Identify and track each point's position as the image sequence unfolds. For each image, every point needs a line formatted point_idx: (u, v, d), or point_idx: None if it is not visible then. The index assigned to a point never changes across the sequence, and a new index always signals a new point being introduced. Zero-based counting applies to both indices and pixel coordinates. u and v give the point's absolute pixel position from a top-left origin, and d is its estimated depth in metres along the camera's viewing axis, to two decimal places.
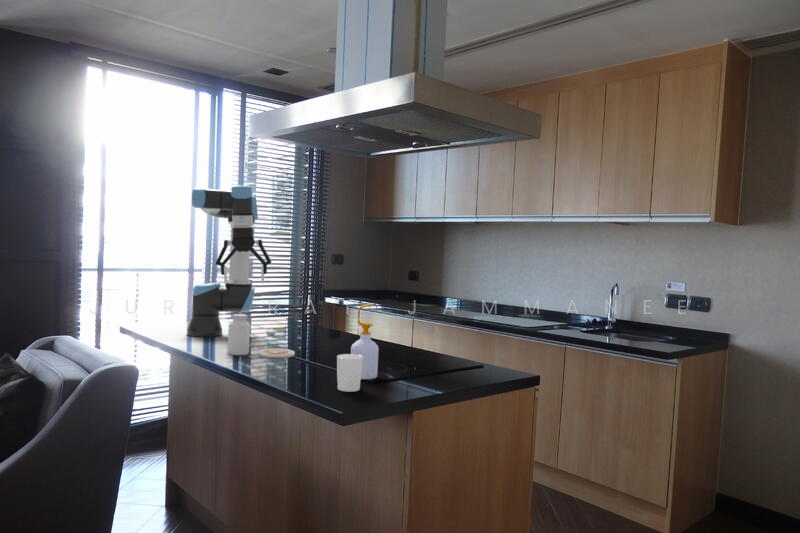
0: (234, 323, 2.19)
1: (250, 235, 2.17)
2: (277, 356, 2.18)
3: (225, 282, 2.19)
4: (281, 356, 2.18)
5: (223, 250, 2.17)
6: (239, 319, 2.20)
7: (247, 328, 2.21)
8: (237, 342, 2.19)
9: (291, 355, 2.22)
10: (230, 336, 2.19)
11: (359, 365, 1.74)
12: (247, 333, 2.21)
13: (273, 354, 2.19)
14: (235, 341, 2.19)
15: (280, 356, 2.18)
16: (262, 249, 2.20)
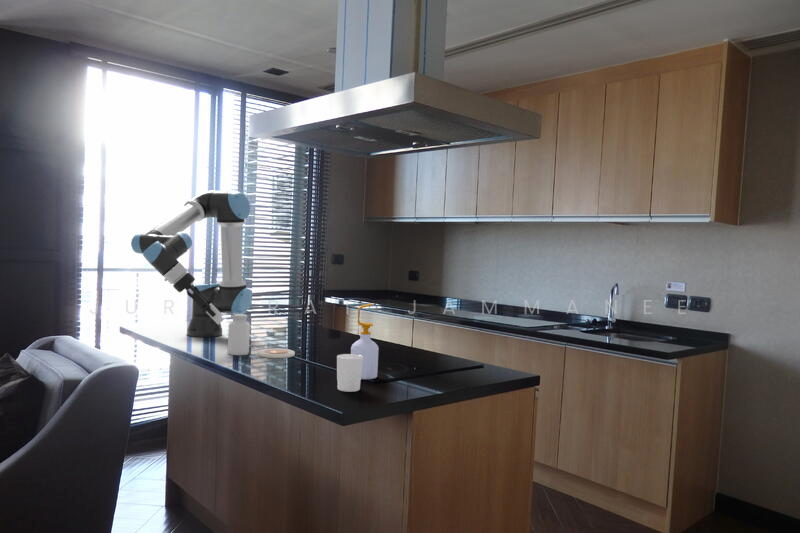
0: (234, 323, 2.19)
1: (180, 289, 2.12)
2: (277, 356, 2.18)
3: None
4: (281, 356, 2.18)
5: None
6: (239, 319, 2.20)
7: (247, 328, 2.21)
8: (237, 342, 2.19)
9: (291, 355, 2.22)
10: (230, 336, 2.19)
11: (359, 365, 1.74)
12: (247, 333, 2.21)
13: (273, 354, 2.19)
14: (235, 341, 2.19)
15: (280, 356, 2.18)
16: (193, 299, 2.09)
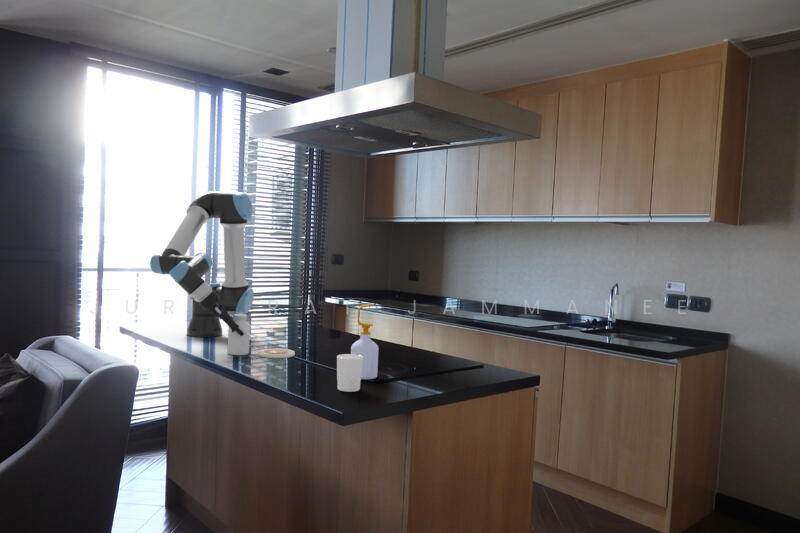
0: None
1: (206, 307, 2.15)
2: (277, 356, 2.18)
3: None
4: (281, 356, 2.18)
5: None
6: (239, 319, 2.20)
7: (247, 328, 2.21)
8: (237, 342, 2.19)
9: (291, 355, 2.22)
10: (230, 336, 2.19)
11: (359, 365, 1.74)
12: (247, 333, 2.21)
13: (273, 354, 2.19)
14: (235, 341, 2.19)
15: (280, 356, 2.18)
16: (221, 318, 2.14)
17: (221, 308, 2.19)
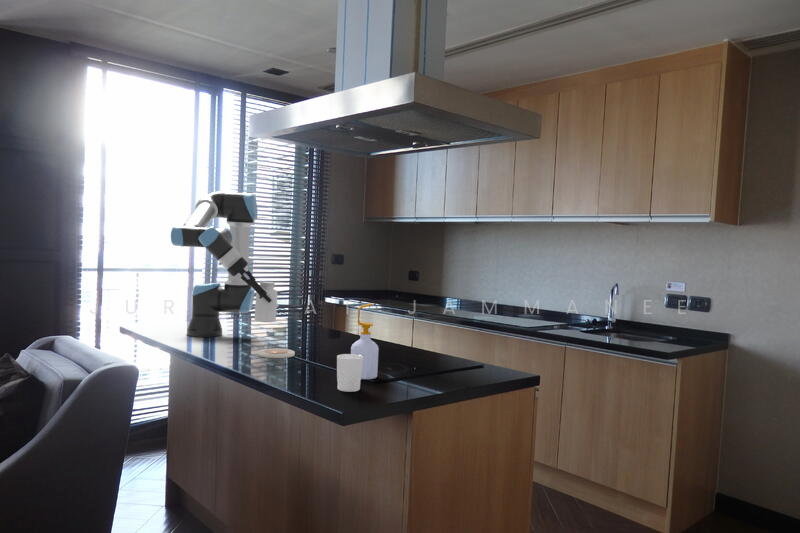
0: None
1: (234, 273, 2.15)
2: (277, 356, 2.18)
3: None
4: (281, 356, 2.18)
5: None
6: (267, 286, 2.19)
7: (274, 295, 2.20)
8: (264, 309, 2.18)
9: (291, 355, 2.22)
10: (257, 303, 2.19)
11: (359, 365, 1.74)
12: (275, 300, 2.20)
13: (273, 354, 2.19)
14: (263, 308, 2.18)
15: (280, 356, 2.18)
16: (249, 284, 2.14)
17: (249, 274, 2.18)
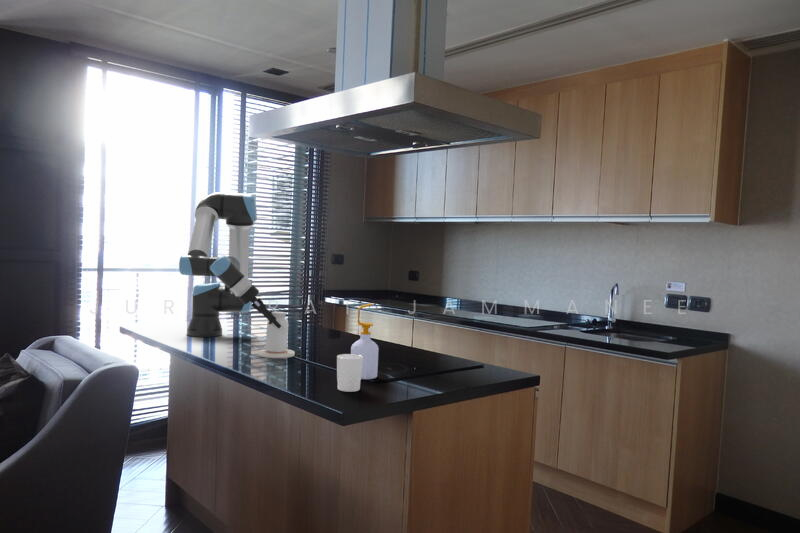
0: None
1: (246, 301, 2.17)
2: (277, 356, 2.18)
3: None
4: (281, 356, 2.18)
5: None
6: (278, 316, 2.22)
7: (285, 325, 2.22)
8: (276, 339, 2.20)
9: (291, 355, 2.22)
10: (269, 333, 2.21)
11: (359, 365, 1.74)
12: None
13: (273, 354, 2.19)
14: (274, 338, 2.20)
15: (280, 356, 2.18)
16: (259, 311, 2.15)
17: (260, 302, 2.20)
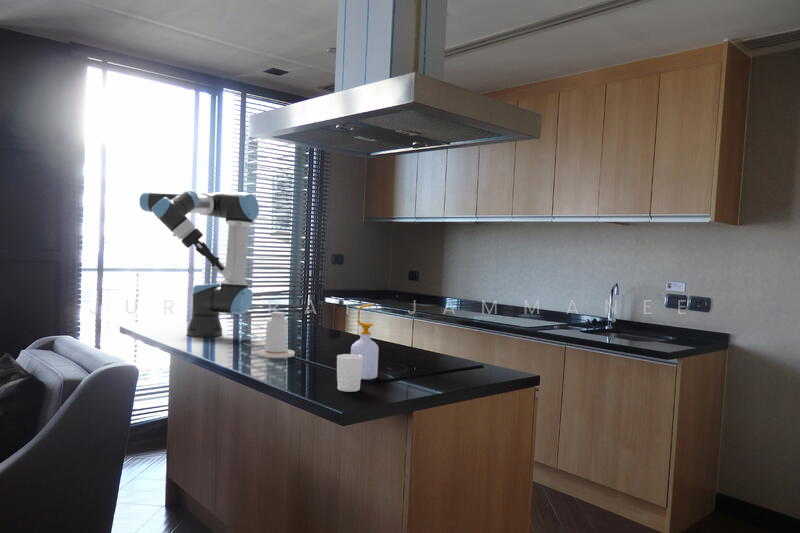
0: (273, 320, 2.21)
1: (189, 244, 2.14)
2: (277, 356, 2.18)
3: None
4: (281, 356, 2.18)
5: None
6: (278, 316, 2.21)
7: (285, 325, 2.22)
8: (276, 339, 2.20)
9: (291, 355, 2.22)
10: (269, 333, 2.21)
11: (359, 365, 1.74)
12: (286, 330, 2.23)
13: (273, 354, 2.19)
14: (274, 338, 2.20)
15: (280, 356, 2.18)
16: (202, 253, 2.12)
17: (204, 246, 2.17)
